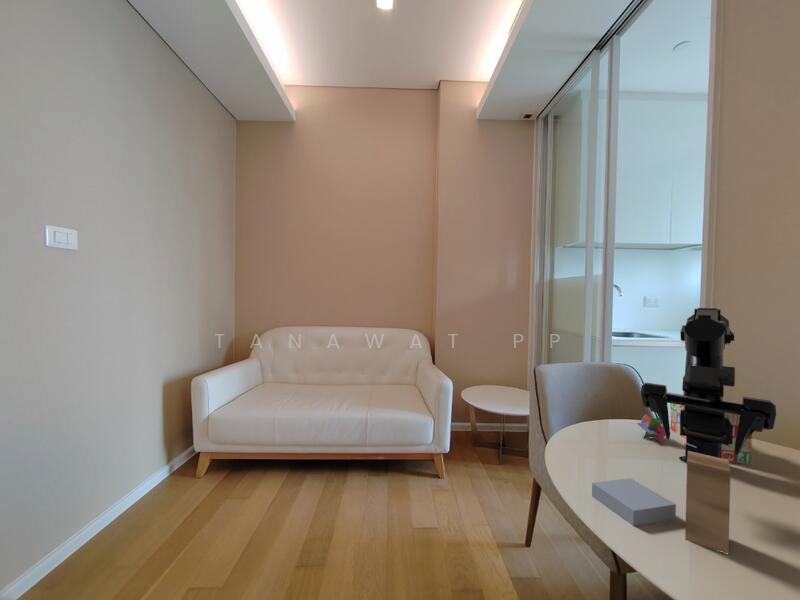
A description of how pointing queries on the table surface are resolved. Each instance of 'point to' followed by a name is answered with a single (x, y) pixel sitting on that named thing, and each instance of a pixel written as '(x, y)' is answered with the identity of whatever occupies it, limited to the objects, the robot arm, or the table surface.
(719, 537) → the walnut block
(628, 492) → the slate base block
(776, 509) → the table surface
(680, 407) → the stack of blocks
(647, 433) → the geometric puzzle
